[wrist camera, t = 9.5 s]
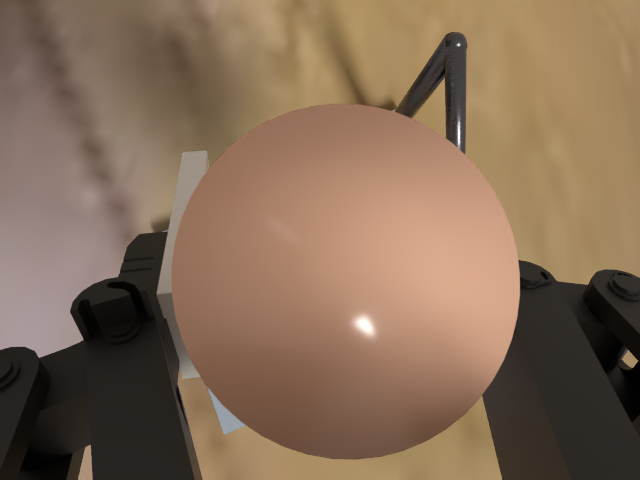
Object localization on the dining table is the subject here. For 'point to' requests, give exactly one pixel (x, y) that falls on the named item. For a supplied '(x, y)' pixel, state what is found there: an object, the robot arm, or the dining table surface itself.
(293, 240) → the peach rounded cylinder
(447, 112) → the bent wire
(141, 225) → the dining table surface
